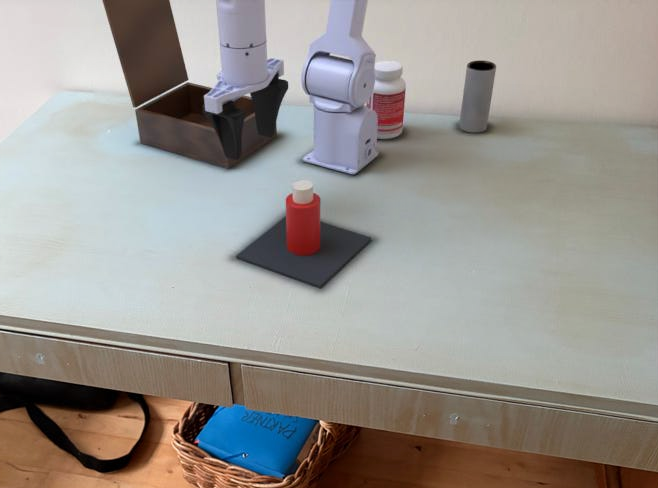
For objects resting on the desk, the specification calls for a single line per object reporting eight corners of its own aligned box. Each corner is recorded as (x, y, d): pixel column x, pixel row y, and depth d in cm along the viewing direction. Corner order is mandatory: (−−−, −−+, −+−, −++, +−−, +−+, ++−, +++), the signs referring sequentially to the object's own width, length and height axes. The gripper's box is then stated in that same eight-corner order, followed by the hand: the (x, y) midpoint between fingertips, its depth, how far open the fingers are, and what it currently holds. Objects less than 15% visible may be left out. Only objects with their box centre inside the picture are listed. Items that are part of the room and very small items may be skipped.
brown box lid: (159, -43, 119) (140, -41, 121) (98, -22, 111) (80, -20, 113) (188, 80, 130) (171, 79, 132) (135, 107, 122) (118, 107, 124)
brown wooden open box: (276, 136, 126) (275, 102, 122) (228, 169, 117) (225, 133, 114) (191, 114, 134) (187, 82, 130) (140, 143, 126) (134, 109, 122)
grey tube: (471, 119, 128) (480, 58, 121) (492, 127, 125) (502, 65, 118) (453, 126, 126) (461, 65, 119) (473, 135, 123) (482, 72, 116)
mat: (371, 240, 100) (371, 237, 100) (320, 288, 92) (320, 285, 92) (290, 214, 106) (290, 212, 106) (235, 258, 98) (235, 255, 98)
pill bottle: (409, 133, 125) (415, 66, 117) (381, 143, 122) (385, 75, 115) (385, 121, 128) (389, 55, 121) (357, 130, 126) (360, 64, 119)
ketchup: (326, 243, 99) (327, 181, 93) (308, 259, 97) (308, 196, 91) (298, 234, 101) (297, 173, 95) (280, 249, 99) (278, 187, 93)
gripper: (250, 19, 97) (256, 120, 106) (179, 54, 88) (192, 160, 97) (296, 27, 94) (298, 130, 103) (227, 64, 85) (236, 173, 94)
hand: (249, 146), depth 100 cm, fingers open, 7 cm apart
